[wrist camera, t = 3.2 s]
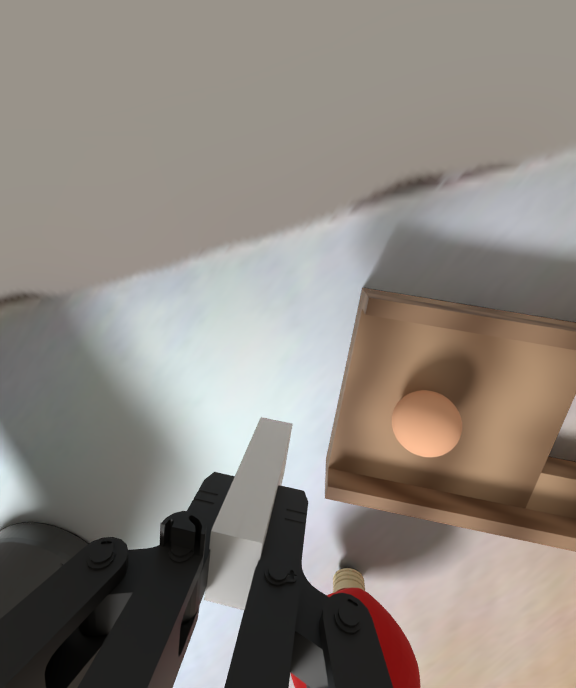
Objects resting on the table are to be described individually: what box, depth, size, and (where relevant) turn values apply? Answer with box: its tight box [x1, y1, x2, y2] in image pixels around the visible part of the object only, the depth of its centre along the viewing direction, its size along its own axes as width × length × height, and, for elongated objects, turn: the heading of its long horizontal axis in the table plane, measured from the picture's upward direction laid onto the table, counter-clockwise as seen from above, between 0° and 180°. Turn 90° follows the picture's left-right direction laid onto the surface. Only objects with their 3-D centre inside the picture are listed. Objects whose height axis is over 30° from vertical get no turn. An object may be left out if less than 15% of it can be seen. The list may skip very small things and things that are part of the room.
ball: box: [392, 390, 462, 457], centre depth 21 cm, size 4×4×4 cm
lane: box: [325, 288, 576, 552], centre depth 23 cm, size 24×14×4 cm, turn 81°
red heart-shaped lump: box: [291, 568, 420, 688], centre depth 26 cm, size 9×7×10 cm
